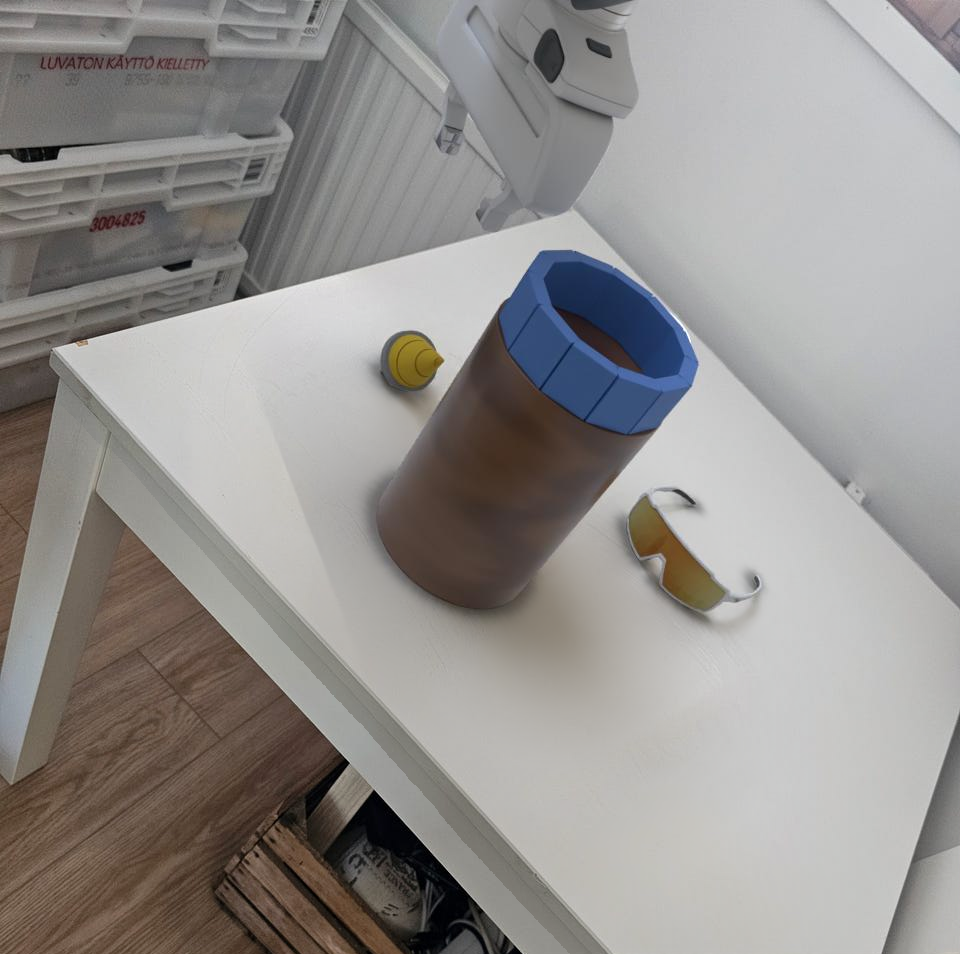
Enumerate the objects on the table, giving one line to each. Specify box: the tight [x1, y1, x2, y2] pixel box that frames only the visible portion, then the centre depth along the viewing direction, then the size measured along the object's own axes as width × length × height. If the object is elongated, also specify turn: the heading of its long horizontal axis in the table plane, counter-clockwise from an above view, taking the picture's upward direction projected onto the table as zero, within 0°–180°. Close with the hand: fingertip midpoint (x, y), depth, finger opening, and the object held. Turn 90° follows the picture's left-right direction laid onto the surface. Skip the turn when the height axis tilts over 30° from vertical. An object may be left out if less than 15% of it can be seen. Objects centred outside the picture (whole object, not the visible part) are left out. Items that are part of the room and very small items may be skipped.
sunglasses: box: [626, 485, 763, 614], centre depth 101 cm, size 14×15×5 cm
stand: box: [376, 296, 664, 610], centre depth 79 cm, size 14×14×20 cm
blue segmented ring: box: [499, 249, 700, 434], centre depth 71 cm, size 13×13×4 cm
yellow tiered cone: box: [379, 329, 445, 392], centre depth 93 cm, size 5×5×10 cm
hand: (464, 186), depth 82 cm, fingers open, 8 cm apart
